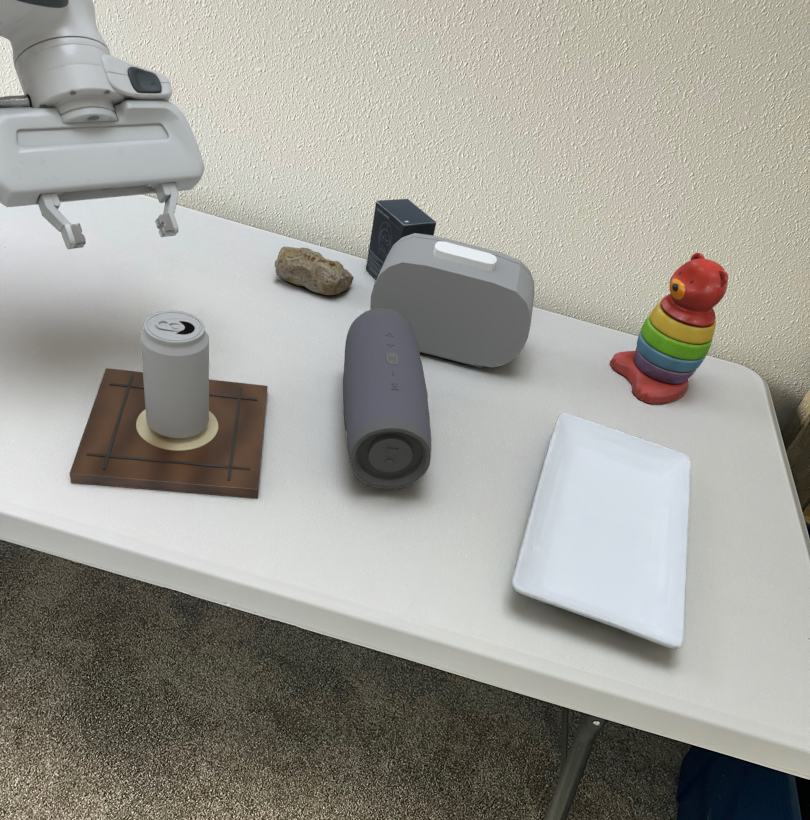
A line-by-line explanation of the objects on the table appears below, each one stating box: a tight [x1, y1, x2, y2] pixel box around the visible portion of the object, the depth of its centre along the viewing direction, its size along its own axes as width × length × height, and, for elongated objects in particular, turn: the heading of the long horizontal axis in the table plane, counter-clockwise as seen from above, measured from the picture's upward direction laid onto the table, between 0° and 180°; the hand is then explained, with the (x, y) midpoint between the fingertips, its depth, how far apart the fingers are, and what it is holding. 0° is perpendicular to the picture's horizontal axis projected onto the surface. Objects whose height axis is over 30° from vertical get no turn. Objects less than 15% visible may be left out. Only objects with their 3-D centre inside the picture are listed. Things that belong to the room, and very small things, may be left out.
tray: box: [511, 412, 692, 650], centre depth 84 cm, size 17×32×4 cm, turn 163°
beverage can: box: [139, 309, 210, 439], centre depth 79 cm, size 6×6×12 cm
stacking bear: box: [609, 252, 729, 405], centre depth 104 cm, size 11×10×18 cm
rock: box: [274, 245, 354, 296], centre depth 110 cm, size 8×11×4 cm
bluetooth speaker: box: [342, 308, 432, 490], centre depth 87 cm, size 23×9×10 cm, turn 4°
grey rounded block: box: [369, 233, 535, 369], centre depth 102 cm, size 21×10×13 cm, turn 80°
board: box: [68, 367, 269, 499], centre depth 84 cm, size 18×18×1 cm
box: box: [365, 198, 437, 280], centre depth 113 cm, size 8×6×11 cm
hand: (125, 240), depth 77 cm, fingers open, 8 cm apart
